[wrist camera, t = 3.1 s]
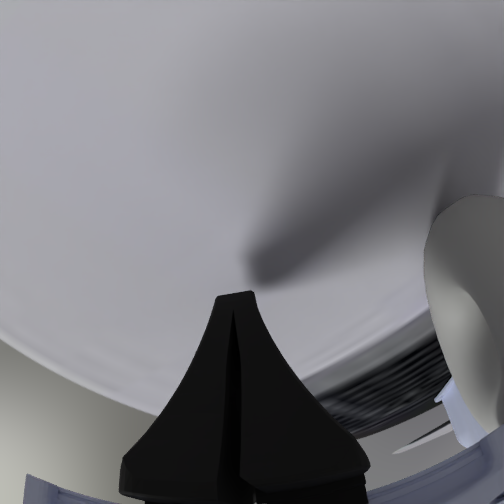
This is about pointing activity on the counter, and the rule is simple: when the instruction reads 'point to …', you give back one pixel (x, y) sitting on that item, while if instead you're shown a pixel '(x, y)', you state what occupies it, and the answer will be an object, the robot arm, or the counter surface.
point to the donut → (470, 300)
